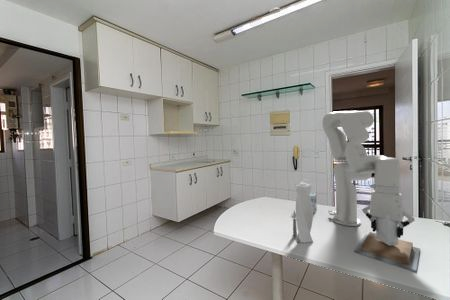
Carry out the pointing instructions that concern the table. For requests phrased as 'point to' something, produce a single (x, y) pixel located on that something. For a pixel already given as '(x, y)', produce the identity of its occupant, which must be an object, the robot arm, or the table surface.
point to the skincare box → (387, 230)
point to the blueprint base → (389, 252)
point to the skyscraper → (303, 213)
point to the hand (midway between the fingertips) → (386, 233)
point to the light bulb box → (313, 201)
